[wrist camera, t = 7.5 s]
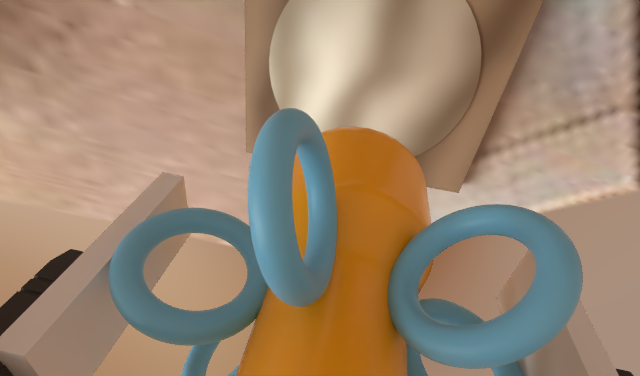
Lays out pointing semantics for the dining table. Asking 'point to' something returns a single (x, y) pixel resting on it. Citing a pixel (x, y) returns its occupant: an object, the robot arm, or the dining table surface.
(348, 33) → the board
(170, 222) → the cylinder
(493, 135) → the dining table surface
